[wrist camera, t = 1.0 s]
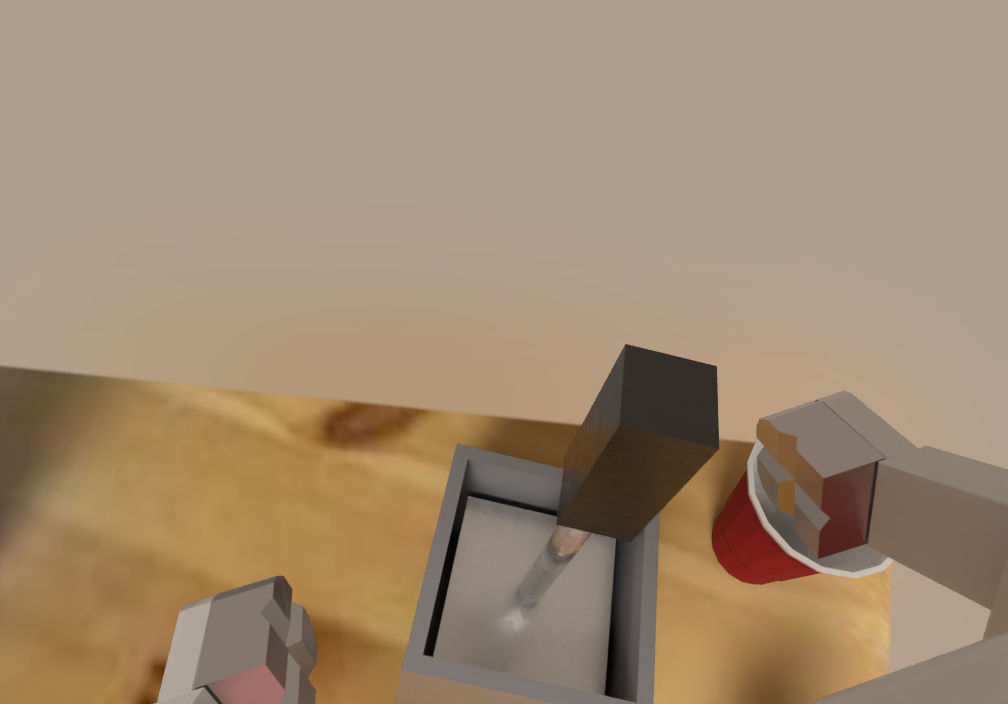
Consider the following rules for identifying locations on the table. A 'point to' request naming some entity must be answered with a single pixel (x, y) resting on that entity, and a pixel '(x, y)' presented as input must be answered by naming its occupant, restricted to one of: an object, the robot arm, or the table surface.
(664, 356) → the plunger
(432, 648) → the box
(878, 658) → the table surface
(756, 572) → the plastic cup
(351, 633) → the table surface
